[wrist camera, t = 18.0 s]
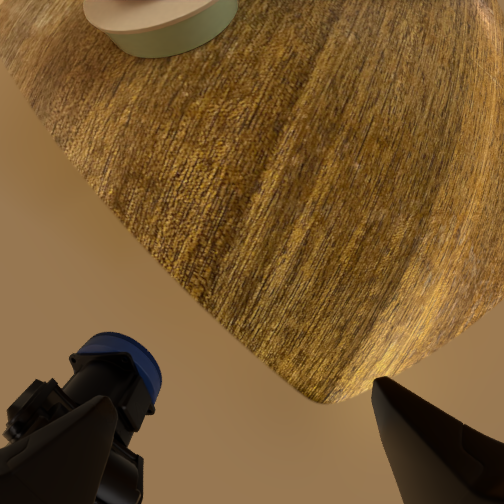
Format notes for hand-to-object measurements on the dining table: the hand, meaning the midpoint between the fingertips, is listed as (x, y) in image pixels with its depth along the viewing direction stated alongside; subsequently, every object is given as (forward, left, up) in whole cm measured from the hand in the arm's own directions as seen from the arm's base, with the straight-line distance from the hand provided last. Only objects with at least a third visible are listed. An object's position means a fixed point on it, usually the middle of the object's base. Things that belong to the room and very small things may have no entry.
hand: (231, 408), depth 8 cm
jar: (-2, +23, -13) cm, 27 cm away
